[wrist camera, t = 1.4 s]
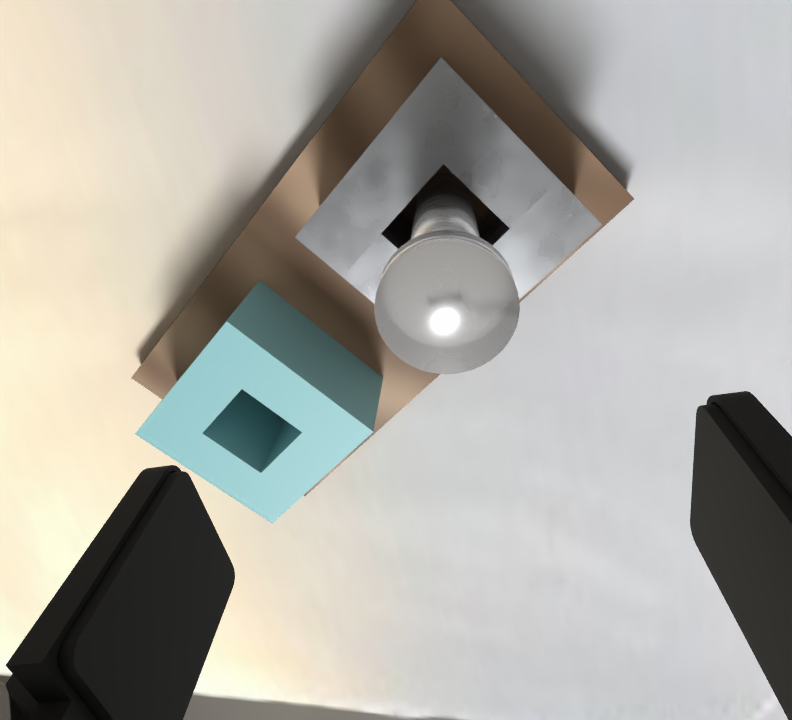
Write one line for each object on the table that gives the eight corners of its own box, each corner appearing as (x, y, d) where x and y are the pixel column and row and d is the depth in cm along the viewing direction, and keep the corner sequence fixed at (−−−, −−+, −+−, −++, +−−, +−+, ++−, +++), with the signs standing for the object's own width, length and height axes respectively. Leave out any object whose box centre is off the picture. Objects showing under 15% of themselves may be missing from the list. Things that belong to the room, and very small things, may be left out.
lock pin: (442, 138, 30) (444, 209, 16) (503, 198, 31) (550, 308, 18) (386, 203, 31) (345, 314, 18) (445, 257, 33) (448, 397, 19)
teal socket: (259, 280, 34) (226, 321, 29) (383, 377, 37) (373, 431, 32) (177, 381, 38) (135, 433, 33) (293, 463, 41) (272, 523, 36)
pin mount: (441, 56, 28) (441, 57, 23) (574, 195, 30) (602, 224, 25) (319, 206, 32) (294, 237, 27) (446, 317, 35) (447, 364, 29)
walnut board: (432, -17, 28) (432, -20, 26) (626, 192, 32) (634, 198, 30) (141, 367, 40) (131, 377, 38) (308, 482, 44) (304, 496, 42)
